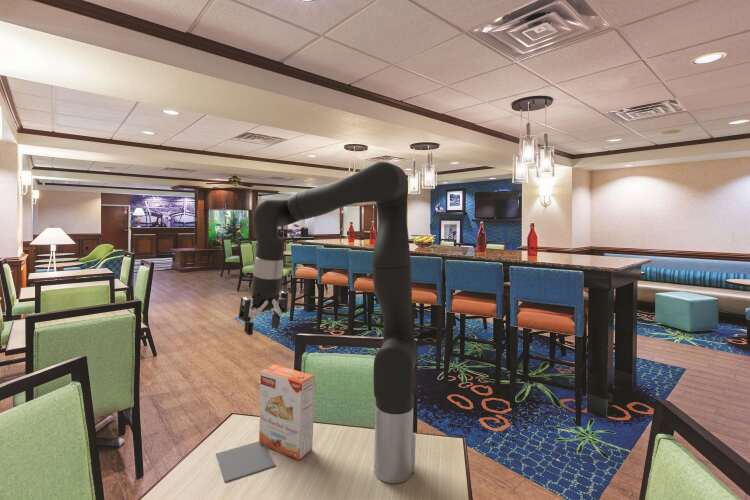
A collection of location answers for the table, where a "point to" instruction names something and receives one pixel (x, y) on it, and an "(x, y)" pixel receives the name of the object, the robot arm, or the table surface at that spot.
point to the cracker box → (286, 410)
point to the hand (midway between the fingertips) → (262, 331)
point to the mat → (244, 461)
